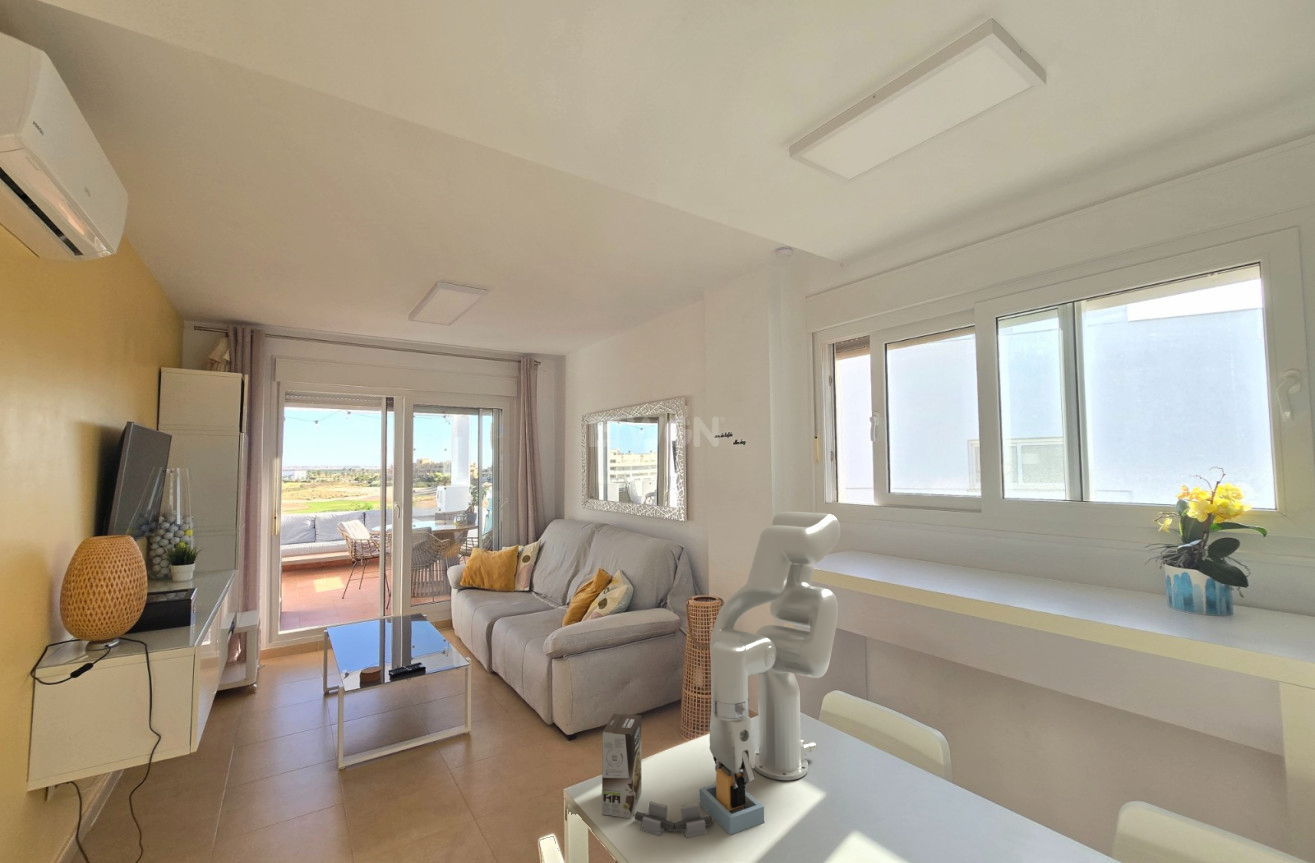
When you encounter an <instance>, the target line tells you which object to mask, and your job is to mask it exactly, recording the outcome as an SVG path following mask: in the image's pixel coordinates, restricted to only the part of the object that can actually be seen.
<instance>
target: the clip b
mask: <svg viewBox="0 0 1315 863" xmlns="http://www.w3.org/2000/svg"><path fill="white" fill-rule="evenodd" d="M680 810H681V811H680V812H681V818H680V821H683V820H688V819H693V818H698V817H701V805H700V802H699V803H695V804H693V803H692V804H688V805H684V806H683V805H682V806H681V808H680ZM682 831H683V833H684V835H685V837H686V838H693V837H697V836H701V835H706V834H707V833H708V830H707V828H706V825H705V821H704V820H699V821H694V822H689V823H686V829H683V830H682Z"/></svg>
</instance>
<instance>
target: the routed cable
mask: <svg viewBox="0 0 1315 863" xmlns="http://www.w3.org/2000/svg"><path fill="white" fill-rule="evenodd" d="M643 817H648V818H651V819H654V820H658V821H661V827H662V828H665V829H666V830H669V831H673V832H674V831H675V832H677V831H683V829H686V823H689V822H694V821H699V820H704V821H705V826H707V825H713V823H714V818H713V817H712V816H711V815H710V814H709V815H704V816H700V817H698V818H693V819H688V820H683V821H681V820H678V821H672V820H668V819H667V820H666V819H662V818H659V817H655V816H652V815H649V813H644V812H641V811H635V813H634V821H635V820H636V821H639V822H642V819H643ZM665 829H664V830H665Z"/></svg>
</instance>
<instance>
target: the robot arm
mask: <svg viewBox="0 0 1315 863" xmlns="http://www.w3.org/2000/svg"><path fill="white" fill-rule="evenodd" d="M841 531H842V530H841V524H840V522H839V520H838V519H837V517H836V516H835V515H833V514H831V513H825V512H806V511H782V512H779V513H777V514H776V515H774V516H773V518H772V522H771V525H770V526H767V527H765V528H764V529H763V530H762V532H761V533H760V536H759V539H758V541H757V542H758V543H757V546H756V550H755V552H754V557H753V560H752V563H751V567H750V570H749V573H748V577H747V580H746V582H745V584H744V585H743V586H741V587H740V588H738V589H737V590H736V591H734V592H733V594H731V595H730V597H729V598H728V599H727V600H726V601H725V602H724V603H723V604H722V605H721V607H720V609H719V611H718V613H717V615H716V618H715V622H714V626H713V627H712V630H711V631H712V633H711V636H710V640H709V652H710V686H711V687H710V693H711V694H710V698H711V700H710V702H711V704H710V705H711V709H710V710H711V712H710V718H709V719H710V720H709V722H710V723H709V751H710V753H711V754H712V757H713V758H712V759H713V761H714V764H715V766H714V770H715V772H716V770H717V769H720V768H722V766H726V767H727V768H728V769H729V770H731V777H732V785H733V786H730V796H731V807H732V808H736V807H738V808H740V807H739V806H742V805H744V804H745V790H746V786H747V785H748V783H749V782H753V781H754V780H755V776H754V773H753V770H754V769H755V770H756V772H757V773H759V774H761V775H762V776H764V777H766V778H769V779H772V780H776V781H777V780H778V781H795V780H798V779H800V778H803V777H804V776H805V775H806V774H807V773H808V771H809V763H808V760H807V759H806V758H805V756H807V755H808V753H812V752H814V751H817V744H816V742H814V741H810V742H808V743H807V742H806V743H805V741H804V739H801V735H802V734H801V694H800V693H801V692H800V686H799V684H798V680H797V678H796V676H795V675H798V676H803V677H807V678H813V679H819V678H821V677H823V676H825V674H826V673H827V671H828V669H829V665H830V660H831V657H832V652H833V645H834V642H835V641H834V640H835V636H836V630H837V626H838V620H839V619H838V618H839V603H838V599H837V597H836V595H835V593H833V591H831V590H830V589H828V588H824V587H821V586H813V585H812V583H813V578H814V575H815V567H814V565H815V564H818V563H819V562H820V561H821V560H823V559H824V558H825V557H826V556H827V555H828V554H829V553H830V552H832V550H833V549H834V548H835V547H836V545H837V544H838V542H840V541H839V540H840V538H841ZM768 603H770V605H769V606H770V607H769V608H770V609H769V610H770V611H769V612H770V614H771V616H772V617H773V618H774V619H775V620H777V621H779V622H782V623H785V624H790V625H795V626H799V627H804V628H810V630H809V631H807V630H802V629H796V628H793V627H787V626H781V625H778V624H777V625H774V624H766V625H764V626H760V627H759V628H758V629H757V630H756V632H755V634H754V633H751V632H747V631H742V630H738V629H735V628H736V625H737V623H738V621H739V620H740V618H742V616H743V615H744V614H746V613H747V612H748V611H750V610H751V609H755V608H756V607H759V606H762V605H765V604H768ZM751 676H757V699H758V700H757V703H758V704H757V705H758V706H757V707H758V709H757V711H758V713H757V714H758V717H757V718H758V750H757V751H755V739H754V730H753V724H752V723H753V722H752V719H751V716H749V713H750V711H749V709H750V708H749V707H750V706H749V705H750V704H749V702H750V700H749V678H750V677H751ZM738 773H741V777H739V778H738V779H737V774H738ZM736 809H737V808H736Z"/></svg>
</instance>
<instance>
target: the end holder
mask: <svg viewBox="0 0 1315 863" xmlns="http://www.w3.org/2000/svg"><path fill="white" fill-rule="evenodd" d="M698 792H699V794H698V795H699V796H698V797H699V805H700V807H702V808H703V809H704V810H705V811H706V812H707V813H708V814H709V815H711V816H712V818H713V820H715V821H716V822H717V823H718V824H719V826H721V827H722V828H723V829H724V830H725V831H726V832H727V834H729V835H730V836H731V835H735V834H737V833H740V832H742V831H744V830H749V829H751V828H754V827H756V826H758V825H761V824H763V823H765V806H764V805H763V804H762V803H761V802H760V801H758V800H757V799H756V798H755V797H754V796H753V795H751V794H750V793H749V792H748V791H747V790H746V789H745V805H744V806H741V807H740V808H742V809H741V810H739V811H736V812H733V813H731V812H730V811H728V810H727V809H726V808H725V807H724V806H723V805H722V804H721V803H719V802H718V801H717V796H716V782H715V783H712V784H709V785H707V786H703V787H699V790H698Z"/></svg>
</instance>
